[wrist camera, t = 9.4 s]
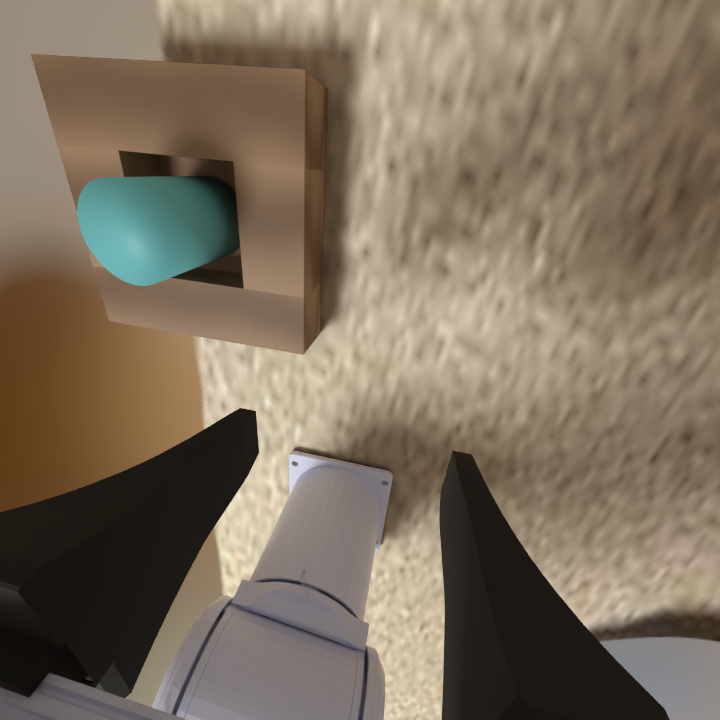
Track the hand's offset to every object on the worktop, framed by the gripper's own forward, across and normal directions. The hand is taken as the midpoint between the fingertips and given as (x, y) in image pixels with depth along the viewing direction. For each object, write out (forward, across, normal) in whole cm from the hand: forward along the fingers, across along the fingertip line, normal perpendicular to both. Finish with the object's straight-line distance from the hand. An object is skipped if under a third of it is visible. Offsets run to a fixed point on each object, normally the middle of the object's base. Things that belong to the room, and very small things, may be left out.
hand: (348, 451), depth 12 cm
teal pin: (+9, +10, -6) cm, 15 cm away
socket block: (+9, +10, -6) cm, 15 cm away
